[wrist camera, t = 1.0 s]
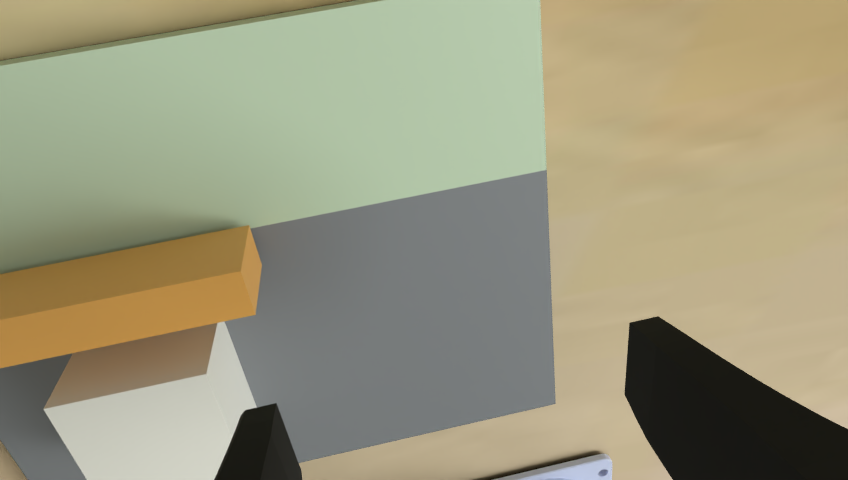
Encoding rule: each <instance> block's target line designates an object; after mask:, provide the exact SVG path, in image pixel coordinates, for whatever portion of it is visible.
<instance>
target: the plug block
mask: <svg viewBox="0 0 848 480" xmlns="http://www.w3.org/2000/svg"><path fill="white" fill-rule="evenodd" d="M252 408H257V407H256V404H255V401H254V399H253V396H252V393H251V391H250V388H249V385H248V383H247V380H246V377H245V375H244V372H243V369H242V367H241V364H240V361H239V359H238V356H237V353H236V351H235V348H234V345H233V343H232V340H231V337H230V335H229V332H228V329H227V327H226V324H225V322H219V323H214V324H209V325H205V326H200V327H195V328H190V329H186V330H181V331H176V332H171V333H166V334H162V335H157V336H152V337H147V338H143V339H138V340H133V341H128V342H123V343H119V344H114V345H109V346H104V347H100V348H95V349H90V350H85V351H80V352H76V353H73V354H72V356H71V358H70V360H69V362H68V364H67V365H66V367H65V369H64V371H63V373H62V375H61V377H60V379H59V381H58V382H57V384H56V386H55V388H54V390H53V392H52V394H51V396H50V398H49V399H48V401H47V403H46V405H45V407H44V409H43V410H44V411H45V413H46V414H47V416H48V418H49V419H50V421H51V423H52V424H53V426H54V427H55V429H56V431H57V432H58V434H59V435H60V437H61V439H62V440H63V442H64V444H65V445H66V447H67V448H68V450H69V452H70V453H71V455H72V456H73V458H74V460H75V461H76V463H77V465H78V466H79V468H80V469H81V471H82V473H83V474H84V476H85V478H86V479H87V480H214V479H215V477H216V474H217V472H218V470H219V468H220V465H221V463H222V461H223V459H224V456H225V454H226V451H227V449H228V447H229V444H230V442H231V439H232V437H233V434H234V432H235V429H236V427H237V424H238V421H239V419H240V416H241V415H242V413H243V412H244V411H245V410H248V409H252Z"/></svg>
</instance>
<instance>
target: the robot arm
mask: <svg viewBox="0 0 848 480" xmlns="http://www.w3.org/2000/svg"><path fill="white" fill-rule="evenodd" d="M625 396H626V398H627V400H628V402H629V404H630V406H631V409H632V411H633V413H634V415H635V417H636V419H637V421H638V423H639V425H640V427H641V429H642V431H643V433H644V435H645V437H646V439H647V440H648V442H649V443H650V445H651V447H652V448H653V450H654V451H655V453H656V454H657V456H658V457H659V459H660V461H661V462H662V464H663V465H664V467H665V468H666V470H667V471H668V473H669V474H670V476H671V477H672V479H673V480H848V429H846V428H844V427H842V426H840V425H838V424H836V423H834V422H832V421H830V420H828V419H826V418H824V417H822V416H821V415H819V414H817V413H815V412H813V411H811V410H809V409H808V408H806V407H804V406H802V405H800V404H799V403H797V402H795V401H793V400H791V399H790V398H788V397H786V396H784V395H782V394H781V393H779V392H777V391H775V390H774V389H772V388H770V387H769V386H767V385H765V384H763V383H762V382H760V381H758V380H757V379H755V378H753V377H752V376H750V375H749V374H747V373H745V372H744V371H742V370H740V369H739V368H737V367H736V366H734V365H732V364H731V363H729V362H728V361H726V360H725V359H723V358H721V357H720V356H718V355H717V354H715V353H714V352H712V351H711V350H709V349H708V348H706V347H704V346H703V345H701V344H700V343H698V342H697V341H695V340H694V339H692V338H691V337H689V336H688V335H686V334H685V333H683V332H681V331H680V330H678V329H677V328H675V327H674V326H672V325H671V324H669V323H668V322H666V321H664V320H663V319H661V318H660V317H653V318H649V319H645V320H640V321H636V322H631V323H630V326H629V340H628V354H627V368H626V382H625ZM214 480H302V473H301V469H300V466H299V463H298V460H297V458H296V455H295V452H294V450H293V447H292V444H291V441H290V439H289V436H288V433H287V430H286V428H285V425H284V422H283V420H282V417H281V414H280V411H279V409H278V406H277V403H274V404H270V405H265V406H261V407H257V408H252V409H248V410H245V411H244V412H243V413H242V415H241V416H240V419H239V421H238V424H237V427H236V429H235V432H234V434H233V437H232V439H231V442H230V444H229V447H228V449H227V451H226V454H225V456H224V459H223V461H222V463H221V465H220V468H219V470H218V472H217V474H216V477H215V479H214ZM493 480H612V461H611V459H610V457H609V456H608V455H607V454H598V455H594V456H590V457H586V458H581V459H577V460H573V461H569V462H565V463H560V464H556V465H552V466H548V467H544V468H539V469H535V470H531V471H527V472H523V473H519V474H514V475H510V476H506V477H502V478H498V479H493Z"/></svg>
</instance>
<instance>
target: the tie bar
mask: <svg viewBox="0 0 848 480" xmlns="http://www.w3.org/2000/svg"><path fill="white" fill-rule="evenodd" d="M261 269H262V264H261V261H260V257H259V254H258V251H257V248H256V245H255V242H254V239H253V235H252V232H251V229H250V226H249V225H247V226H242V227H237V228H232V229H227V230H222V231H217V232H212V233H207V234H201V235H196V236H191V237H186V238H181V239H176V240H171V241H166V242H161V243H156V244H151V245H146V246H141V247H136V248H131V249H126V250H120V251H115V252H110V253H105V254H100V255H95V256H90V257H85V258H80V259H75V260H70V261H65V262H60V263H55V264H50V265H44V266H39V267H34V268H29V269H24V270H19V271H14V272H9V273H4V274H0V368H4V367H9V366H14V365H18V364H23V363H28V362H33V361H38V360H42V359H47V358H52V357H57V356H61V355H66V354H71V353H76V352H80V351H85V350H90V349H95V348H100V347H104V346H109V345H114V344H119V343H123V342H128V341H133V340H138V339H143V338H147V337H152V336H157V335H162V334H166V333H171V332H176V331H181V330H186V329H190V328H195V327H200V326H205V325H209V324H214V323H219V322H224V321H228V320H233V319H238V318H243V317H248V316H252V315H256V307H257V300H258V292H259V284H260V276H261Z"/></svg>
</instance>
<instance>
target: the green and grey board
mask: <svg viewBox="0 0 848 480" xmlns="http://www.w3.org/2000/svg"><path fill="white" fill-rule="evenodd" d="M247 225H249V226H250V229H251V232H252V235H253V239H254V242H255V245H256V248H257V251H258V254H259V257H260V261H261V264H262V269H261V276H260V284H259V292H258V300H257V307H256V315H252V316H248V317H243V318H238V319H233V320H228V321H224V322H225V324H226V327H227V329H228V332H229V335H230V337H231V340H232V343H233V345H234V348H235V351H236V353H237V356H238V359H239V361H240V364H241V367H242V369H243V372H244V375H245V377H246V380H247V383H248V385H249V388H250V391H251V393H252V396H253V399H254V401H255V404H256V407H261V406H265V405H270V404H274V403H277V406H278V409H279V411H280V414H281V417H282V420H283V422H284V425H285V428H286V430H287V433H288V436H289V439H290V441H291V444H292V447H293V450H294V452H295V455H296V458H297V460H298V463H300V462H305V461H309V460H313V459H318V458H322V457H327V456H331V455H335V454H340V453H344V452H348V451H353V450H357V449H361V448H366V447H370V446H374V445H379V444H383V443H387V442H392V441H396V440H400V439H405V438H409V437H413V436H418V435H422V434H426V433H431V432H435V431H439V430H444V429H448V428H452V427H457V426H461V425H465V424H470V423H474V422H478V421H483V420H487V419H492V418H496V417H500V416H505V415H509V414H513V413H518V412H522V411H526V410H531V409H535V408H539V407H544V406H548V405H552V404H555V378H554V352H553V326H552V300H551V274H550V248H549V222H548V196H547V170H546V144H545V118H544V92H543V66H542V40H541V14H540V0H355V1H350V2H344V3H338V4H332V5H326V6H320V7H314V8H308V9H303V10H297V11H291V12H285V13H279V14H273V15H267V16H261V17H256V18H250V19H244V20H238V21H232V22H226V23H220V24H214V25H209V26H203V27H197V28H191V29H185V30H179V31H173V32H167V33H162V34H156V35H150V36H144V37H138V38H132V39H126V40H120V41H115V42H109V43H103V44H97V45H91V46H85V47H79V48H73V49H68V50H62V51H56V52H50V53H44V54H38V55H32V56H26V57H21V58H15V59H9V60H3V61H0V274H4V273H9V272H14V271H19V270H24V269H29V268H34V267H39V266H44V265H50V264H55V263H60V262H65V261H70V260H75V259H80V258H85V257H90V256H95V255H100V254H105V253H110V252H115V251H120V250H126V249H131V248H136V247H141V246H146V245H151V244H156V243H161V242H166V241H171V240H176V239H181V238H186V237H191V236H196V235H201V234H207V233H212V232H217V231H222V230H227V229H232V228H237V227H242V226H247ZM72 354H73V353H71V354H66V355H61V356H57V357H52V358H47V359H42V360H38V361H33V362H28V363H23V364H18V365H14V366H9V367H4V368H0V440H1V442H2V443H3V444H4V446H5V447H6V449H7V450H8V452H9V453H10V455H11V456H12V458H13V459H14V460H15V462H16V463H17V465H18V466H19V468H20V469H21V471H22V472H23V473H24V475H25V476H26V478H27V479H28V480H87V479H86V478H85V476H84V474H83V473H82V471H81V469H80V468H79V466H78V465H77V463H76V461H75V460H74V458H73V456H72V455H71V453H70V452H69V450H68V448H67V447H66V445H65V444H64V442H63V440H62V439H61V437H60V435H59V434H58V432H57V431H56V429H55V427H54V426H53V424H52V423H51V421H50V419H49V418H48V416H47V414H46V413H45V411H44V410H43V409H44V407H45V405H46V403H47V401H48V399H49V398H50V396H51V394H52V392H53V390H54V388H55V386H56V384H57V382H58V381H59V379H60V377H61V375H62V373H63V371H64V369H65V367H66V365H67V364H68V362H69V360H70V358H71V356H72Z"/></svg>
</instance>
